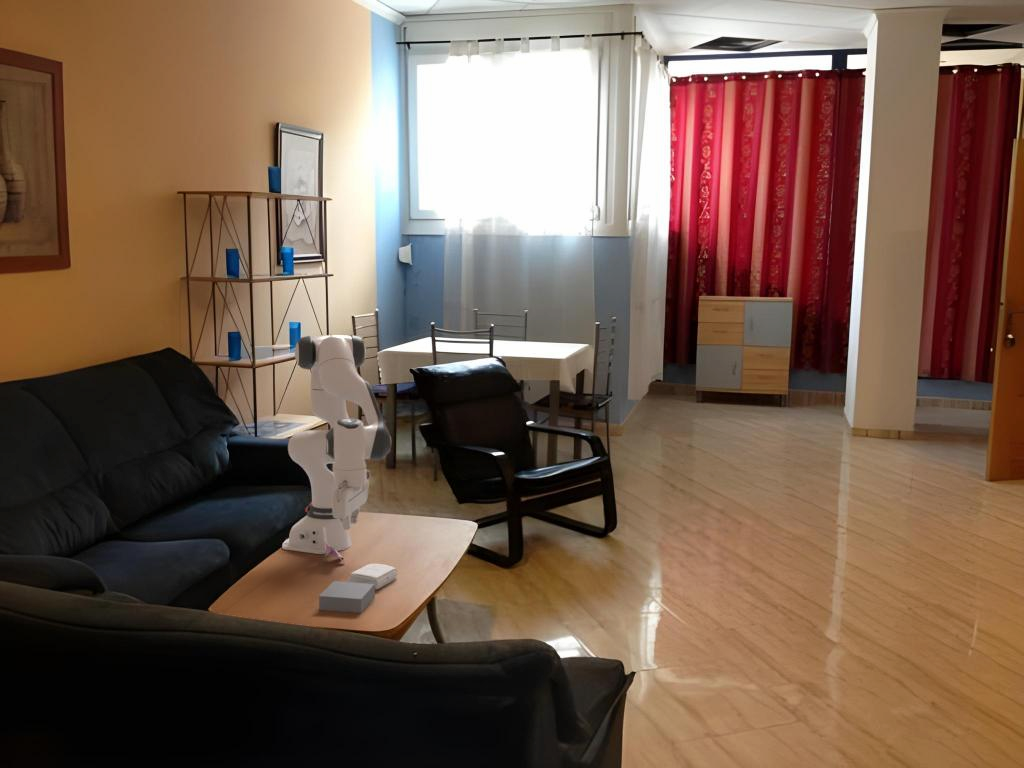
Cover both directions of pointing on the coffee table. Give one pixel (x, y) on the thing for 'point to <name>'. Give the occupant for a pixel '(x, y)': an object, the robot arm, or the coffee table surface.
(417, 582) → the coffee table surface
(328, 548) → the lily
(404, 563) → the coffee table surface
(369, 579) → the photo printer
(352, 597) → the slate block
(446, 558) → the coffee table surface
